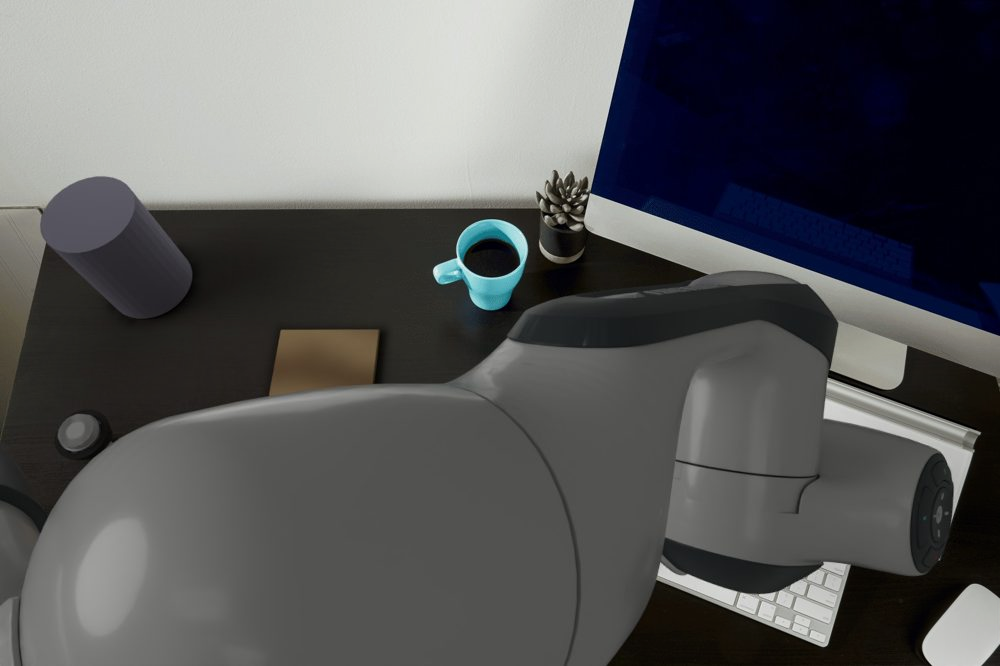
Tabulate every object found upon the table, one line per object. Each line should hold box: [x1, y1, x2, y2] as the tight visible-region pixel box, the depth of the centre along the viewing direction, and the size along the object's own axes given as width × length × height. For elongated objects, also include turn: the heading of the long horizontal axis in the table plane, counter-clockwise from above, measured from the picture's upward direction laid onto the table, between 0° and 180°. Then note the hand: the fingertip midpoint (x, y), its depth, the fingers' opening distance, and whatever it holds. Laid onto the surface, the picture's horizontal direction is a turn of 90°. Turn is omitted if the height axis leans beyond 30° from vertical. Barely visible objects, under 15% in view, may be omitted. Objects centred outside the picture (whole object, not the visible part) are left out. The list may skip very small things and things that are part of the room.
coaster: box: [268, 329, 381, 396], centre depth 85 cm, size 12×12×1 cm
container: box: [39, 175, 193, 320], centre depth 86 cm, size 10×10×15 cm
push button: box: [54, 408, 120, 461], centre depth 78 cm, size 7×5×10 cm
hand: (604, 432), depth 67 cm, fingers open, 8 cm apart
